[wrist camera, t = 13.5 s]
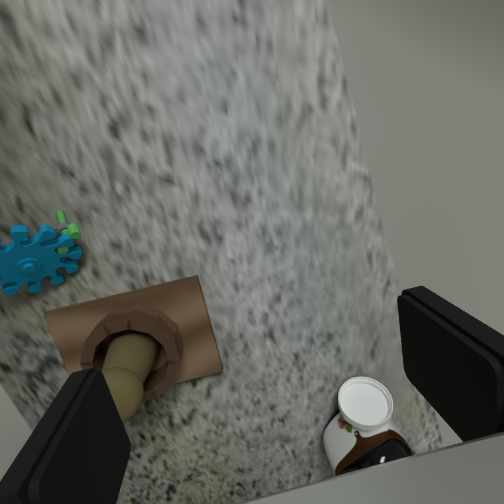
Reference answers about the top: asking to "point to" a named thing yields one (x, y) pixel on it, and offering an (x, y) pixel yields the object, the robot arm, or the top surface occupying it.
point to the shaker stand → (144, 320)
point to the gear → (38, 256)
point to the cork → (129, 368)
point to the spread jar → (363, 428)
